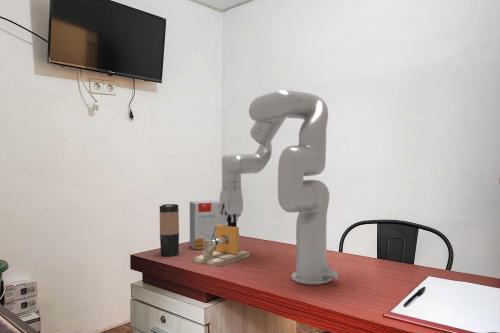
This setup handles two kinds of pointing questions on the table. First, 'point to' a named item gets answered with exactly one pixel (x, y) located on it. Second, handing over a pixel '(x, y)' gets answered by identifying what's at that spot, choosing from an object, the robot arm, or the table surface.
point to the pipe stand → (218, 255)
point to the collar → (233, 238)
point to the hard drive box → (204, 222)
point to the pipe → (220, 240)
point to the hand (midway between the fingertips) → (232, 231)
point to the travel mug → (169, 230)
